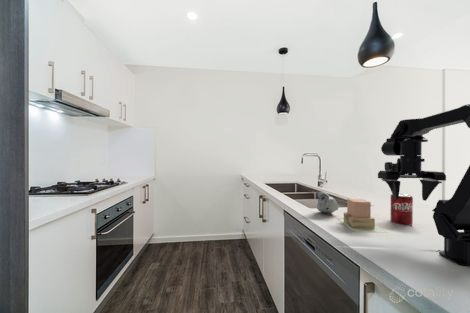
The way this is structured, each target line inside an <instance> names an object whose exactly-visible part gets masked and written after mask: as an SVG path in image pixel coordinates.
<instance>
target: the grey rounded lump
mask: <svg viewBox="0 0 470 313" xmlns="http://www.w3.org/2000/svg"><path fill="white" fill-rule="evenodd" d="M317 198H318V199H317V202H318V203H317V204H316V209H317V211H318V212H320V213H323V214H329V215H330V214H333V213H334V212H336V211H338V210H339V206H338V201H337V200H336V199H335V198H334V197H333V196H330V195H329V194H328V193H327V192H325V191H324V190H323V191H319V193H318V194H317Z"/></svg>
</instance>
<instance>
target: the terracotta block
mask: <svg viewBox="0 0 470 313" xmlns="http://www.w3.org/2000/svg"><path fill="white" fill-rule="evenodd" d="M346 199H347V205H346V206H347V207H346V211H347V213H348V214H350V215H351V216H353V217H361V218H371V217H372V216H371V215H372V214H371V209H372V208H371V204H372V202H371V201H368V200H366V199H365V198H346Z"/></svg>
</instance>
